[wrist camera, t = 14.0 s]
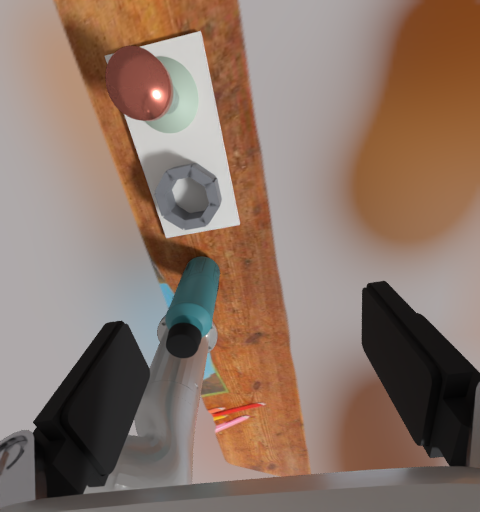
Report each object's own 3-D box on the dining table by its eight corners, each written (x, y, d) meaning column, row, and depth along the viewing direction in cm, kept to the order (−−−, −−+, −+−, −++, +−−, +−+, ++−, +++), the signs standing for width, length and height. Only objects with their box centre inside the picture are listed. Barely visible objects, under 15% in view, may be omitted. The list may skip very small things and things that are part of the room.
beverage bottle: (190, 247, 46) (156, 320, 28) (226, 257, 47) (215, 334, 29) (183, 277, 49) (148, 361, 31) (217, 286, 50) (202, 373, 32)
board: (239, 222, 44) (239, 232, 40) (167, 235, 45) (159, 247, 41) (201, 33, 33) (194, 17, 29) (108, 57, 34) (87, 46, 30)
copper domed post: (187, 72, 34) (167, 49, 25) (187, 126, 37) (169, 123, 28) (139, 67, 34) (101, 42, 25) (142, 121, 36) (109, 117, 27)
